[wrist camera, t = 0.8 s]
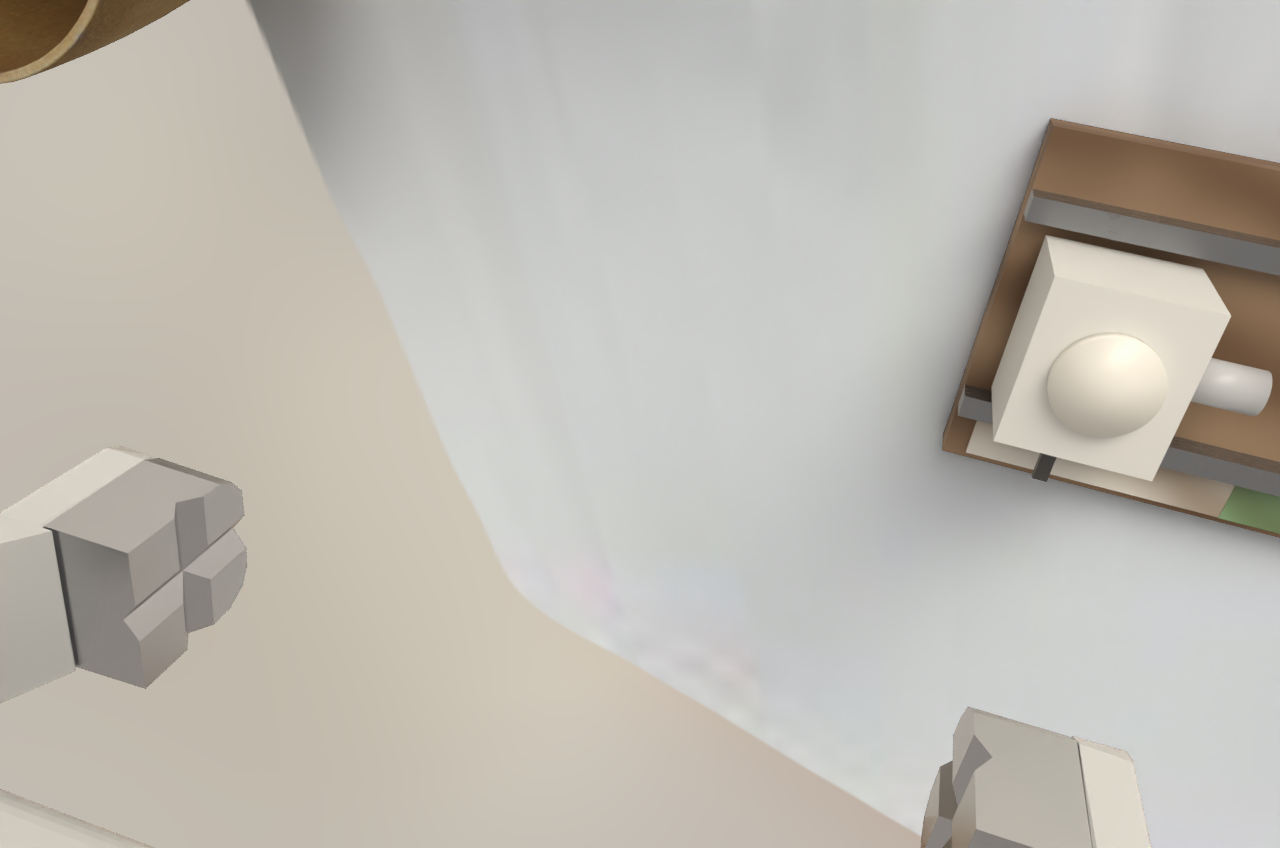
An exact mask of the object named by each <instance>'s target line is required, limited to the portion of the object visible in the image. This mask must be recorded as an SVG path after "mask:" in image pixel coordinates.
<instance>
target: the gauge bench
mask: <svg viewBox="0 0 1280 848" xmlns="http://www.w3.org/2000/svg"><path fill="white" fill-rule="evenodd" d="M1032 189H1037V190H1041V191H1046V192H1051V193H1056V194H1060V195H1065V196H1070V197H1075V198H1080V199H1084V200H1089V201H1094V202H1099V203H1103V204H1108V205H1113V206H1118V207H1122V208H1127V209H1132V210H1137V211H1142V212H1146V213H1151V214H1156V215H1161V216H1165V217H1170V218H1175V219H1180V220H1184V221H1189V222H1194V223H1199V224H1204V225H1208V226H1213V227H1218V228H1223V229H1227V230H1232V231H1237V232H1242V233H1246V234H1251V235H1256V236H1261V237H1266V238H1270V239H1275V240H1280V163H1276V162H1271V161H1265V160H1260V159H1255V158H1250V157H1245V156H1240V155H1235V154H1230V153H1225V152H1220V151H1215V150H1210V149H1205V148H1199V147H1194V146H1189V145H1184V144H1179V143H1174V142H1169V141H1164V140H1159V139H1154V138H1149V137H1144V136H1139V135H1133V134H1128V133H1123V132H1118V131H1113V130H1108V129H1103V128H1098V127H1093V126H1088V125H1083V124H1078V123H1073V122H1067V121H1062V120H1057V119H1052V118H1051V120H1050V123H1049V125H1048V128H1047V131H1046V134H1045V137H1044V140H1043V143H1042V146H1041V149H1040V152H1039V155H1038V158H1037V161H1036V164H1035V167H1034V170H1033V172H1032V175H1031V178H1030V181H1029V184H1028V187H1027V190H1026V193H1025V196H1024V199H1023V202H1022V205H1021V208H1020V211H1019V214H1018V217H1017V219H1016V222H1015V225H1014V228H1013V231H1012V234H1011V237H1010V240H1009V243H1008V246H1007V249H1006V252H1005V255H1004V258H1003V261H1002V263H1001V266H1000V269H999V272H998V275H997V278H996V281H995V284H994V287H993V290H992V293H991V296H990V299H989V302H988V305H987V308H986V310H985V313H984V316H983V319H982V322H981V325H980V328H979V331H978V334H977V337H976V340H975V343H974V346H973V349H972V352H971V355H970V357H969V360H968V363H967V366H966V369H965V372H964V375H963V378H962V381H961V384H960V387H959V390H958V393H957V396H956V399H955V402H954V404H953V407H952V410H951V413H950V416H949V419H948V422H947V425H946V428H945V431H944V434H943V446H942V450H943V451H947V452H951V453H955V454H959V455H963V456H967V457H970V458H974V459H978V460H982V461H986V462H990V463H994V464H998V465H1001V466H1005V467H1009V468H1013V469H1017V470H1021V471H1025V472H1028V473H1032V472H1033V470H1034V467H1035V465H1036V462H1037V460H1038V457H1039V455H1040V453H1038V452H1034V451H1031V450H1027V449H1023V448H1019V447H1015V446H1011V445H1007V444H1003V443H999V442H995V441H994V440H993V424H989V423H985V422H981V421H977V420H973V419H969V418H965V417H961V416H958V403H959V400H960V397H961V394H962V391H963V388H964V386H965V385H969V386H973V387H977V388H981V389H985V390H990V391H991V386H992V384H993V381H994V378H995V375H996V373H997V370H998V367H999V364H1000V361H1001V359H1002V356H1003V353H1004V350H1005V348H1006V345H1007V342H1008V339H1009V336H1010V334H1011V331H1012V328H1013V325H1014V322H1015V320H1016V317H1017V314H1018V311H1019V309H1020V306H1021V303H1022V300H1023V297H1024V295H1025V292H1026V289H1027V286H1028V283H1029V281H1030V278H1031V275H1032V272H1033V270H1034V267H1035V264H1036V261H1037V258H1038V256H1039V253H1040V250H1041V247H1042V244H1043V242H1044V239H1045V236H1046V235H1049V236H1054V237H1059V238H1063V239H1068V240H1072V241H1077V242H1082V243H1086V244H1091V245H1095V246H1100V247H1105V248H1109V249H1114V250H1118V251H1123V252H1128V253H1132V254H1137V255H1141V256H1146V257H1151V258H1155V259H1160V260H1164V261H1169V262H1174V263H1178V264H1183V265H1187V266H1192V267H1197V268H1201V269H1204V271H1205V273H1206V274H1207V276H1208V278H1209V279H1210V281H1211V283H1212V284H1213V286H1214V288H1215V289H1216V291H1217V293H1218V294H1219V296H1220V298H1221V299H1222V301H1223V303H1224V304H1225V306H1226V308H1227V309H1228V311H1229V313H1230V314H1231V318H1230V320H1229V322H1228V324H1227V326H1226V328H1225V330H1224V332H1223V335H1222V337H1221V339H1220V341H1219V343H1218V345H1217V347H1216V349H1215V351H1214V353H1213V355H1212V358H1215V359H1219V360H1223V361H1228V362H1232V363H1236V364H1241V365H1245V366H1249V367H1254V368H1258V369H1262V370H1267V371H1270V372H1271V374H1272V389H1271V393H1270V396H1269V399H1268V401H1267V403H1266V405H1265V407H1264V408H1263V410H1262V411H1261V412H1260V413H1259V414H1258V415H1257V416H1249V415H1245V414H1241V413H1236V412H1232V411H1228V410H1224V409H1220V408H1215V407H1211V406H1207V405H1203V404H1199V403H1195V402H1190V403H1189V406H1188V408H1187V410H1186V412H1185V414H1184V416H1183V418H1182V420H1181V422H1180V424H1179V426H1178V429H1177V431H1176V433H1175V435H1174V436H1176V437H1180V438H1184V439H1189V440H1193V441H1197V442H1201V443H1205V444H1209V445H1213V446H1217V447H1221V448H1225V449H1229V450H1233V451H1237V452H1241V453H1245V454H1249V455H1253V456H1258V457H1262V458H1266V459H1270V460H1274V461H1278V462H1280V276H1278V275H1274V274H1269V273H1264V272H1260V271H1255V270H1250V269H1246V268H1241V267H1237V266H1232V265H1227V264H1223V263H1218V262H1213V261H1209V260H1204V259H1199V258H1195V257H1190V256H1186V255H1181V254H1176V253H1172V252H1167V251H1162V250H1158V249H1153V248H1148V247H1144V246H1139V245H1134V244H1130V243H1125V242H1121V241H1116V240H1111V239H1107V238H1102V237H1097V236H1093V235H1088V234H1083V233H1079V232H1074V231H1070V230H1065V229H1060V228H1056V227H1051V226H1046V225H1042V224H1037V223H1032V222H1028V221H1025V216H1024V211H1025V208H1026V205H1027V202H1028V199H1029V196H1030V193H1031V190H1032ZM1048 478H1052V479H1055V480H1059V481H1063V482H1067V483H1071V484H1075V485H1079V486H1083V487H1086V488H1090V489H1094V490H1098V491H1102V492H1106V493H1110V494H1113V495H1117V496H1121V497H1125V498H1129V499H1133V500H1137V501H1140V502H1144V503H1148V504H1152V505H1156V506H1160V507H1164V508H1168V509H1171V510H1175V511H1179V512H1183V513H1187V514H1191V515H1195V516H1198V517H1202V518H1206V519H1210V520H1214V521H1218V522H1222V523H1226V524H1229V525H1233V526H1237V527H1241V528H1245V529H1249V530H1253V531H1256V532H1260V533H1264V534H1268V535H1272V536H1276V537H1280V497H1278V496H1274V495H1270V494H1266V493H1263V492H1259V491H1255V490H1251V489H1247V488H1243V487H1239V486H1235V485H1231V484H1227V483H1223V482H1219V481H1215V480H1211V479H1207V478H1203V477H1199V476H1195V475H1191V474H1187V473H1183V472H1179V471H1175V470H1171V469H1167V468H1163V467H1159V468H1158V470H1157V472H1156V474H1155V477H1154V479H1153V481H1148V480H1144V479H1140V478H1136V477H1133V476H1129V475H1125V474H1121V473H1117V472H1113V471H1109V470H1105V469H1101V468H1097V467H1093V466H1089V465H1085V464H1082V463H1078V462H1074V461H1070V460H1066V459H1062V458H1058V457H1057V458H1056V460H1055V463H1054V465H1053V467H1052V470H1051V472H1050V475H1049V477H1048Z"/></svg>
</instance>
